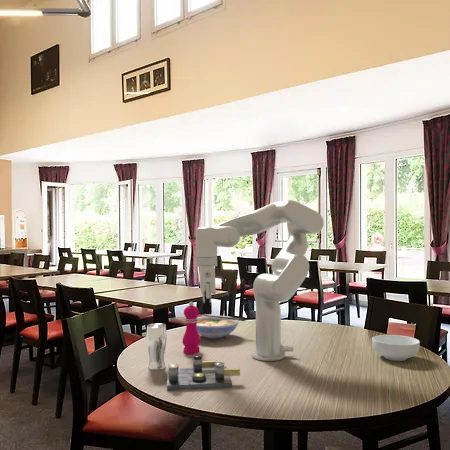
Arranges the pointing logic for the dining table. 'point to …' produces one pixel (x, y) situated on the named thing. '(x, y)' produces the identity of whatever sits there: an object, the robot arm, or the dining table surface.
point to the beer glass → (156, 345)
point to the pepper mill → (191, 330)
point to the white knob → (173, 372)
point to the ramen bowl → (216, 326)
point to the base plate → (198, 380)
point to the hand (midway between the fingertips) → (207, 313)
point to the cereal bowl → (395, 346)
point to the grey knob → (225, 371)
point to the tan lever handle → (201, 363)
